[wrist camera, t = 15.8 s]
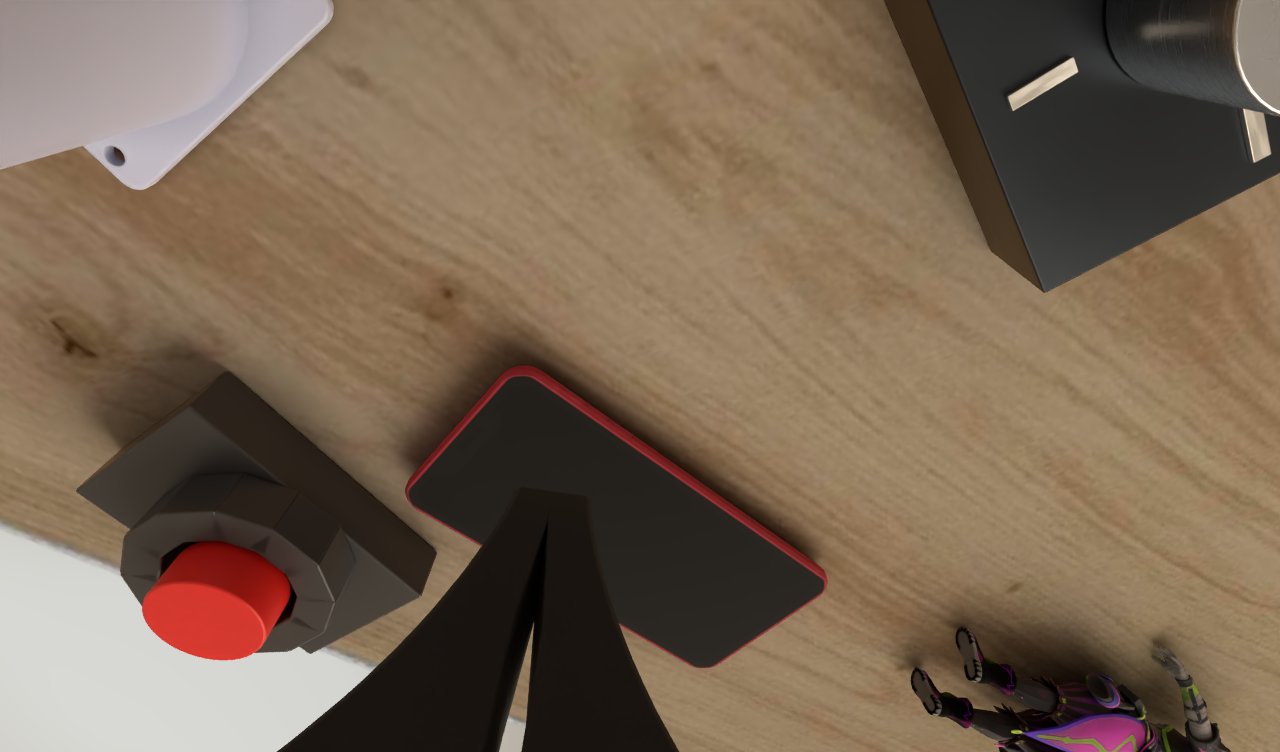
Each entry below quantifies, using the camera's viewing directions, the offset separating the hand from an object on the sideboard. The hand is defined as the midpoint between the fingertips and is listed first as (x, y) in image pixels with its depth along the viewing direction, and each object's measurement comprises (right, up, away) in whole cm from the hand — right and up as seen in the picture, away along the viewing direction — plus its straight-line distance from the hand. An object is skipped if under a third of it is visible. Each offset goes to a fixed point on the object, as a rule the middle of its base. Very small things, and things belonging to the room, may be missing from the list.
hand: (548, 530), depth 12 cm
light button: (-12, -4, +9) cm, 15 cm away
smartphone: (+1, -3, +13) cm, 13 cm away
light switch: (-12, -2, +12) cm, 17 cm away
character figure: (+22, -12, +18) cm, 30 cm away
